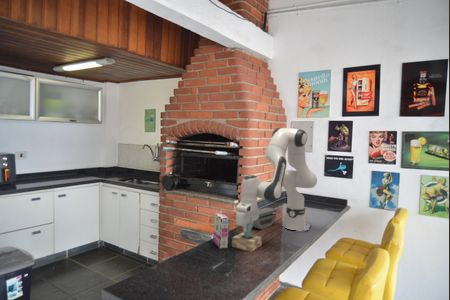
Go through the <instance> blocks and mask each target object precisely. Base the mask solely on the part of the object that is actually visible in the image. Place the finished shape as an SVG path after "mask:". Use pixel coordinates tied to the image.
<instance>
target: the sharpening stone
mask: <svg viewBox="0 0 450 300" xmlns="http://www.w3.org/2000/svg"><path fill="white" fill-rule="evenodd" d="M277 212H278V209H277V208H272V207H268V206H267V207H264V208H261V209H260V208H259V218H258V219H257V220H255V221H253V225H252V228H253V227H255V228H254V229H256V228H258V229H257V230H260V229H263V228H265V227H268V226H270V225H272V226H273V224H274V222H275V220H276V219H277V214H275V213H277ZM263 230H264V229H263Z"/></svg>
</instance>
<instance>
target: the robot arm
mask: <svg viewBox="0 0 450 300" xmlns="http://www.w3.org/2000/svg"><path fill="white" fill-rule="evenodd" d="M271 134H272V135H271V139H270V140H269V142H268V145H267V147H266V150H265V158H266V159H267V161H268V162H270V163H271V164H272V165H274V173H273V176H272V180H271V181H270V182H268V181H263V180H261V179H259V178H258V177H257V176H256V175H253V174H252V175H251V174H250V175H245V176H243V178H242V182H241V188H240V189H241V190H240V193H241V198H240V202H239V203H238V204H237V205H236V206H235V210H236V213H235V223H236V226H238V227H242V230H243V232H247V229H248V228H247V224H248V223H250V222H251V230H252V229H253V227H252V225H253V221H255V220H257V219H258V218H259V209H260V208H259V206H258V198H260V199H262V200H266V201H268V202H270V203H276V202H277V201H278V200H279V199H280V198H281V196H282V190H283V189H284V191H285V193H286V198H287V199H286V200H287V201H286V202H287V204H286V205H287V206H286V208H285V212H286V213H284V215H283V221H282V224H283V226H284V227H285V228H287V229H291V230H303V229H305V227H306V225H307V224H308V216H307V215H306V207H305V195H304V194H302V193H300V192H299V191H298V190H297V188H301V189H313V188H315V186H316V185H317V183H318V178H317V175H316V174H315V173H314V172H313V171H312V170H311V169H310V168H309V167H308V165H307V160H306V146H305V145H306V144H307V142H308V134H307V132H306V130H304V129H300V128H299V129H298V128H293V127H277V128H275V129H274V130H273V132H272V133H271ZM286 153H287V159H286ZM287 162H288V165H289V166H290V167H291V168H294V169H295V170H291V169H290V170H289V169H286V168H287ZM284 227H283V228H284ZM285 228H284V229H285ZM287 229H286V230H287Z"/></svg>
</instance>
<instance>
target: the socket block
mask: <svg viewBox="0 0 450 300" xmlns="http://www.w3.org/2000/svg"><path fill="white" fill-rule="evenodd" d="M262 240H263V236H261V235H256V234H252V233H251V239H245V238H244V231H243V232H240V233H239V234H235V236H232V237H231V247H232V248H236V249H239V250H243V251H247V252H251V253H252V252H253V251H255V250H257V249H258V248H260V247H261V246H262V245H263V244H262V243H263V242H262Z"/></svg>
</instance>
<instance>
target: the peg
mask: <svg viewBox="0 0 450 300" xmlns="http://www.w3.org/2000/svg"><path fill="white" fill-rule="evenodd" d="M247 228H248V229H247V232H244V231H243V232H244V238H245V239H251V234H252V229H251V222H250V223H248V224H247Z"/></svg>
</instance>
